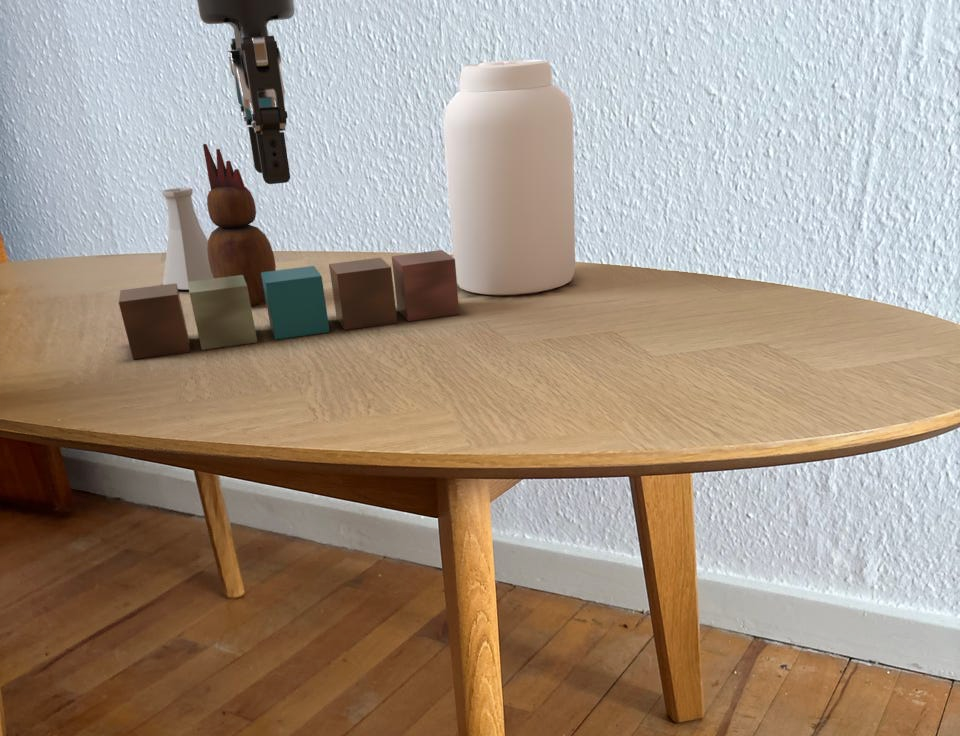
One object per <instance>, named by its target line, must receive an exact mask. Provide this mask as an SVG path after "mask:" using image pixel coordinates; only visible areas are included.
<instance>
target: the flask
mask: <svg viewBox="0 0 960 736" xmlns="http://www.w3.org/2000/svg"><path fill="white" fill-rule="evenodd" d="M160 192H161V195H162V197H163V198H164V199H165V201H166V207H167V214H168V234H167V235H168V236H167V244H166V245H167V246H166V255H165V264H164V270H163V278H162V285H167V284H174V283H177V287H178V290H189V286H188V282H190V281H198V280H206V279H214V278H213V275H212V272H211V269H210V265H209V260H208V251H207V248H208V238H207V236H206V235H205V233H204V231H203V229H202V227H201V225H200V223H199V220H198V217H197V214H196V211H195V209H194V204H193V199H192V196H193V193H194V190H193V188H191V187H173V188H167V189H164V190H161V191H160Z"/></svg>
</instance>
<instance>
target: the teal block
mask: <svg viewBox="0 0 960 736" xmlns="http://www.w3.org/2000/svg"><path fill="white" fill-rule="evenodd" d="M261 276H262V282H263V288H264V293H265V299H266V301H265V305H266V310H267V316H268V322H269V326H270V329H271V332H272V334H273V337H274V339H275V340H284V339H291V338H298V337H304V336H305V337H306V336H313V335H318V334H326V333H327V334H328V333H330V332H331V331H330V325H329V323H330V322H329V317H328V310H327V303H326V296H325V291H324V290H325V289H324V283H323V277H322V275H321V273H320V272H319V270H318V269H317V268H316V266H315V265H310V266H300V267H293V268H285V269H278V270H277V269H276V271H269V272H261Z"/></svg>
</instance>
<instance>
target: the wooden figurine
mask: <svg viewBox="0 0 960 736" xmlns="http://www.w3.org/2000/svg"><path fill="white" fill-rule="evenodd" d="M202 147H203V153H204V159H205V165H206V172H207V177H208V183H209V189H210V190H209V191H208V193H207V197H206V206H207V213H208V215H209V219H210V221H211V222H212V224H214V225H215V226H216V228H215V229H214V230H212V231H211V232H210V235H209V238H207V240H208V248H207V251H208V260H209V265H210V269H211V272H212V275H213V278H222V277H230V276H238V275H243V276H244V279H245V282H246V284H247V288H248V293H249V299H250V304H251V307H254V306H259V305H261V304H263V303H266V299H265V293H264V288H263V282H262V276H261V272H269V271H277V269H276V267H277V266H276V260H275V254H274V251H273V248H272V245H271V242H270V240H269V239H268V237H267V235H266V234H265V233H264V232H263V231H262V230H261V229H260V228H259V227H257V226H254V225H251V224H252V223H254V222H255V219H256V217H257V207H256V202H255V198H254V196H253V194H252V192H251V191H250V190H249V188H247V187H246V186H245V184H244V181H243V178H242V174H241V172H240V170H239V168H236V169H234V168H233V165H232V162H231V161H230V160H227V161H225V162H224V158H223V154H222V151H221V149H220V148H216V151H215V152H216V163H215V161H214V158H213V156H212V154H211V152H210V148H209V146H208V145H207V143H203V144H202Z"/></svg>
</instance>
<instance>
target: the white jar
mask: <svg viewBox="0 0 960 736" xmlns="http://www.w3.org/2000/svg"><path fill="white" fill-rule="evenodd" d="M459 87H460V88H459V90H460V91H458V92H456V93H455V94H454V96H453V97H452V99H450V101H449V102H448V104H446V106H445V110H444V116H443V123H442V130H443V131H442V132H443V143H444V158H445V169H446V183H447V195H448V209H449V221H450V222H449V223H450V235H451V248H452V257H453V258H454V259H455V265H456V278H457V286H458V287H459V288H460V289H461V290H464V291H467V292H470V293H474V294H479V295H484V296H519V295H520V296H521V295H530V294H536V293H537V294H538V293H541V292H547V291H550V290H554V289H556V288H557V289H558V288H560V287H562V286H566V284H568V283H570V282H571V281H573V278H574V274H575V272H576V224H575V223H576V217H575V212H576V211H575V154H574V153H575V151H574V147H575V146H574V114H573V110H572V106H571V103H570V99H569V98H570V97H568V96H567V94H565V93H564V91H562V89H561V88H559V87H558V86H557V85H556V84H553V70H552V68H551V65H550V62H549V61H547V60H545V59H522V60H515V59H512V60H496V61H485V62H480V63H474V64H468V65H466V66H464V67H462V68H461V72H460V75H459Z"/></svg>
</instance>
